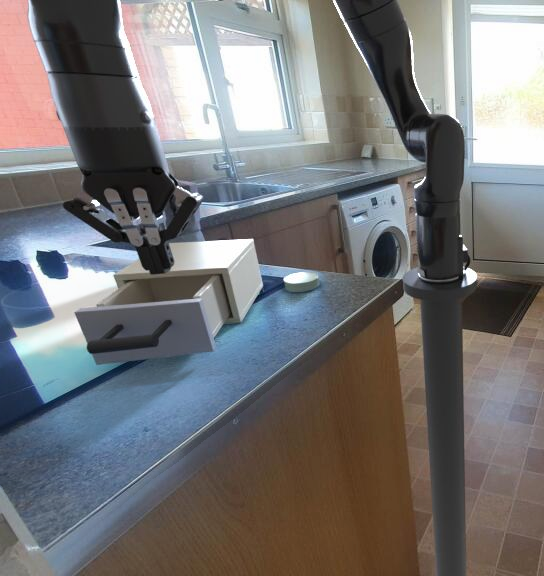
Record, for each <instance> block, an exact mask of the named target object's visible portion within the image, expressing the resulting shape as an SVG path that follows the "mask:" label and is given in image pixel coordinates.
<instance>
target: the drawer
mask: <svg viewBox="0 0 544 576" xmlns="http://www.w3.org/2000/svg"><path fill="white" fill-rule="evenodd" d="M231 312H232V311H231V307H230V303H229V299H228V295H227V291H226V287H225V283H224V279H223V276H222V273H221V274H206V275H192V276H177V277H163V278H148V279H133V280H130V281H129V282H128V283H126V284H125V285H123V286H122V287H120V288H119V289H118V288H117V289H116V290H115V291H113V292H112V293H110V294H109V295H108V296H106V297H105V298H103V299H102V300H101V301H99V302H98V303H96V304H95V306H93V307H81V308H78V309H77V310H75V311H74V312H73V313H74V315H75V318H76V321H77V322H78V325H79V327H80V329H81V332H82V334H83V337H84V339H85V342H86V351H87V353H88V354H90V355H92V358H93V361H94V363H95V365H96V366H101V365H111V364H118V363H119V364H120V363H126V362H134V361H143V360H144V361H145V360H153V359H160V358H169V357H178V356H186V355H196V354H205V353H211V352H213V353H214V351H215V350H216V348H217V346H216V341H215V337H216V336H217V334H218V333H219V331H220V330H221V328H222V326H223V325H225V324H224V322H225V321H226V319H227V318H228V317H229V315H230V314H231Z"/></svg>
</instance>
